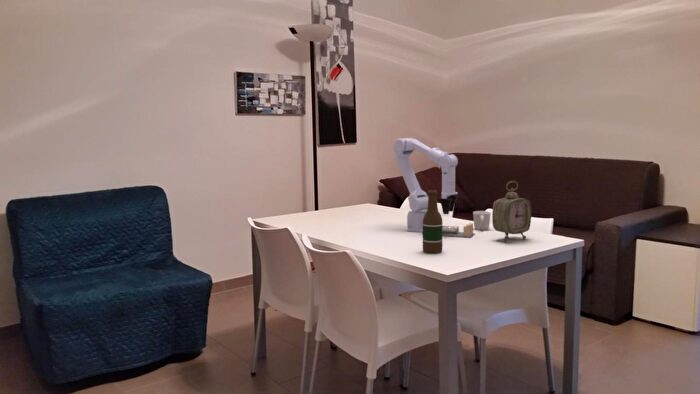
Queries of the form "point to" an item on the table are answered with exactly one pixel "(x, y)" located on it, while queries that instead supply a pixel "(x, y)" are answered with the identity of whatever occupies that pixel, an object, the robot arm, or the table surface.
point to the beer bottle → (432, 226)
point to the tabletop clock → (511, 214)
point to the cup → (481, 220)
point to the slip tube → (450, 229)
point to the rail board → (465, 234)
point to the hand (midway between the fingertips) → (448, 212)
